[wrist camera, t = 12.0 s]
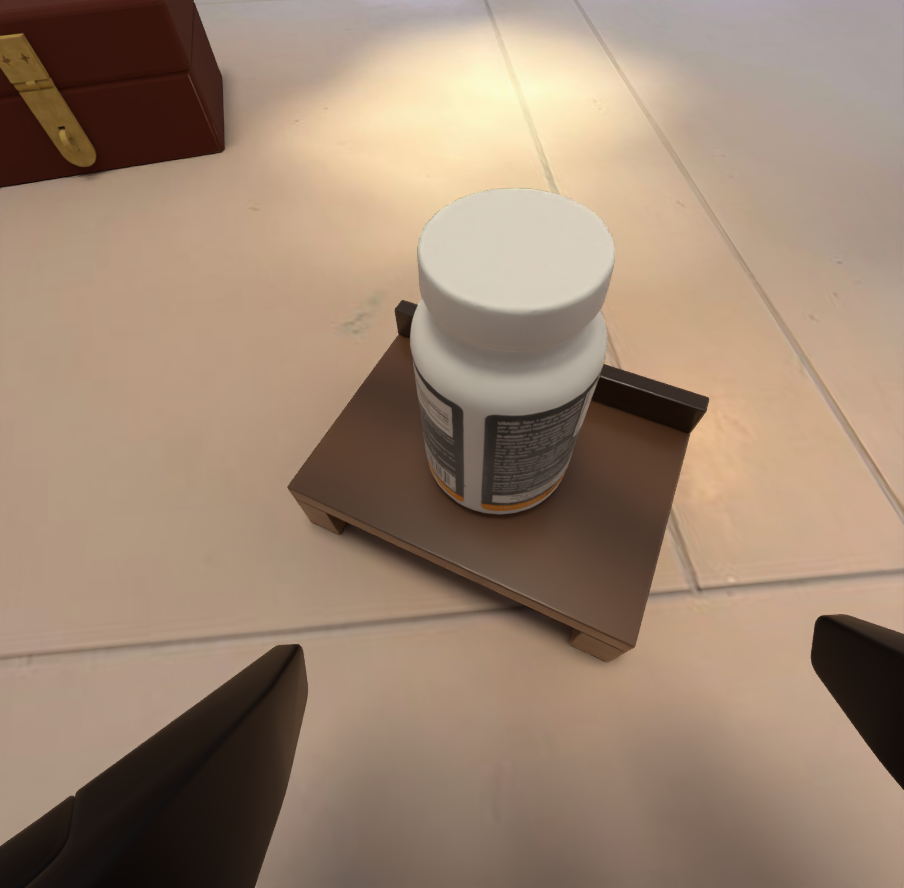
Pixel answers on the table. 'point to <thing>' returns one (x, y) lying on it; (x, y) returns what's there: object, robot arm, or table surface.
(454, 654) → the table surface
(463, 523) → the shelf
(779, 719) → the table surface
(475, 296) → the pill bottle
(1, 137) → the box
